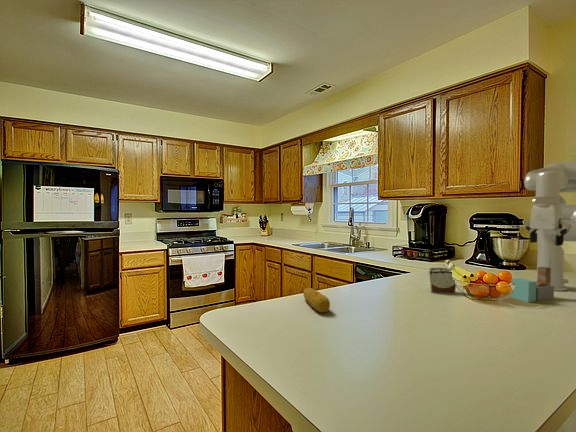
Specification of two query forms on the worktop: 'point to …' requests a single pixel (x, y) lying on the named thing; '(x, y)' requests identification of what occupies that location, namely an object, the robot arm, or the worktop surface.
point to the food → (316, 300)
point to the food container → (442, 281)
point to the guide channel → (544, 293)
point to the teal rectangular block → (524, 290)
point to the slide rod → (543, 276)
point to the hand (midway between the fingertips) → (545, 243)
